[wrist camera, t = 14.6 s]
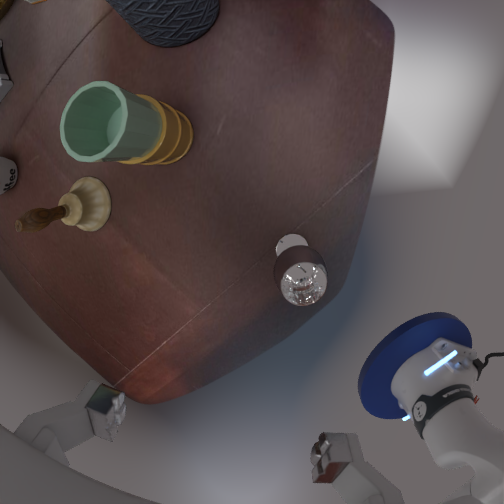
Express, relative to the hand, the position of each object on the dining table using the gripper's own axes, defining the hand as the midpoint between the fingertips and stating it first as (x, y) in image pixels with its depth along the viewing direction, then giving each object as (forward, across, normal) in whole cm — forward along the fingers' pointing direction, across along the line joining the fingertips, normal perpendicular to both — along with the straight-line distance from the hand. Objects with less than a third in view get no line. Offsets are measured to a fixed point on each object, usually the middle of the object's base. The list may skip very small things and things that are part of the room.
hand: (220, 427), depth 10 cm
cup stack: (+30, +14, -12) cm, 35 cm away
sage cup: (+19, +14, -11) cm, 26 cm away
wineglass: (+31, -5, 0) cm, 32 cm away
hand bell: (+30, +25, 0) cm, 39 cm away
